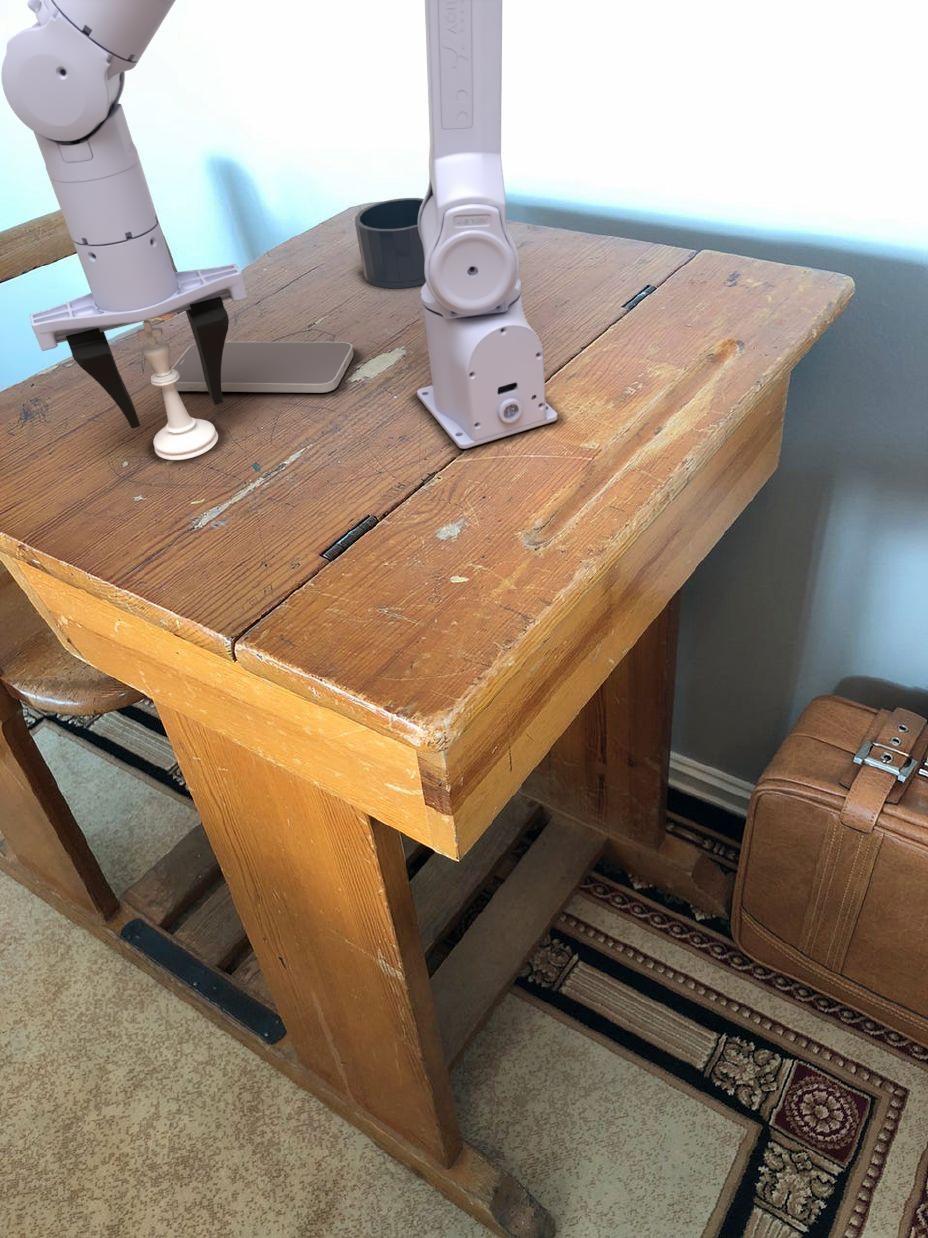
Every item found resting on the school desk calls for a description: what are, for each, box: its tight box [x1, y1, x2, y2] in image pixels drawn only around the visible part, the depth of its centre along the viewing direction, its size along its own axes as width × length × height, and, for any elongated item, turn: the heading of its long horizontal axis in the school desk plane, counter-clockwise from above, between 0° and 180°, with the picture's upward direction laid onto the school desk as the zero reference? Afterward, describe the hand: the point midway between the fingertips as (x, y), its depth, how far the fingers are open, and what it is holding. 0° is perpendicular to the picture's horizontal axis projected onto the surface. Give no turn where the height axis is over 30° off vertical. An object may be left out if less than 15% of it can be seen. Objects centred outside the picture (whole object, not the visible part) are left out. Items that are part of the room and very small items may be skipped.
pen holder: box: [354, 197, 426, 289], centre depth 94 cm, size 8×8×6 cm
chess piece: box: [136, 319, 219, 461], centre depth 72 cm, size 5×5×10 cm
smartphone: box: [170, 341, 355, 394], centre depth 82 cm, size 7×1×15 cm
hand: (175, 410), depth 73 cm, fingers open, 6 cm apart
